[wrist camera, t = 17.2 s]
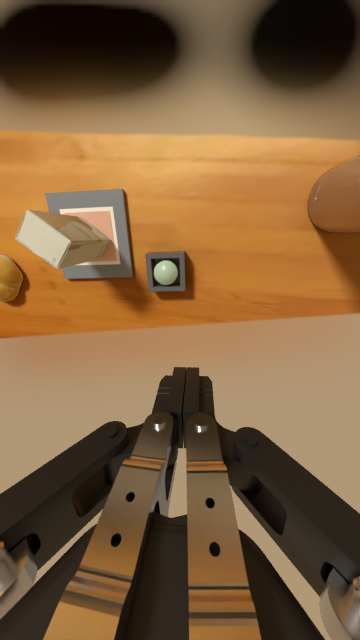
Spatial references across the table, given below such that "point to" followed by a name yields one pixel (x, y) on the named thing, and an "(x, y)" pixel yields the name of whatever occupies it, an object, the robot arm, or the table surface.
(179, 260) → the button housing
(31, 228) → the skincare box
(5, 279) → the bread roll
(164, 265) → the button
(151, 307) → the table surface
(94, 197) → the picture board
